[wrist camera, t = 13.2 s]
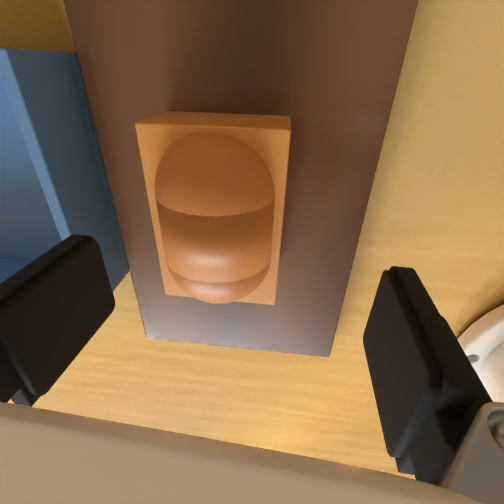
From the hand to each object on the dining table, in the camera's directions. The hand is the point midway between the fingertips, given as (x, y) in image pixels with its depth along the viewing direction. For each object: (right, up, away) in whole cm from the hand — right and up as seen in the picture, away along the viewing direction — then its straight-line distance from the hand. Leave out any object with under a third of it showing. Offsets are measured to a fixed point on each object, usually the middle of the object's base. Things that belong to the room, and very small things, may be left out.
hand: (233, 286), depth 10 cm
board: (0, +5, +6) cm, 8 cm away
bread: (-1, +4, +5) cm, 6 cm away
